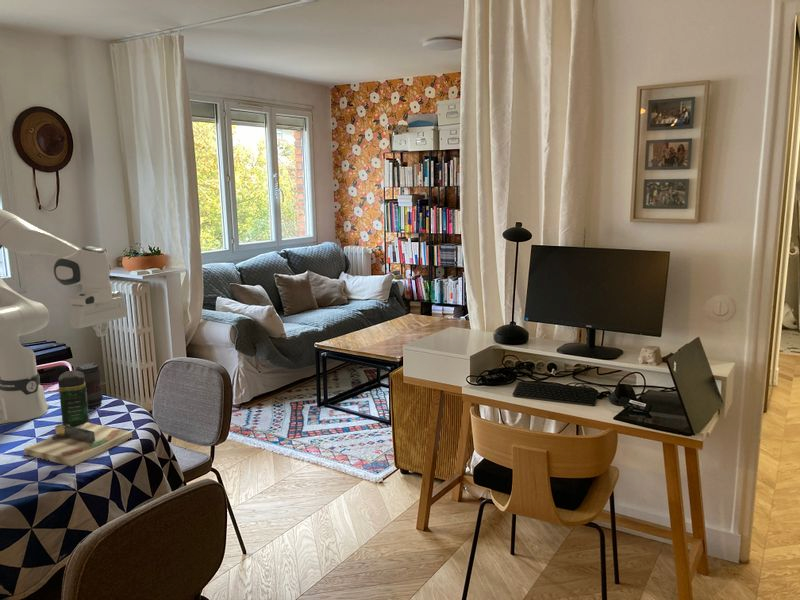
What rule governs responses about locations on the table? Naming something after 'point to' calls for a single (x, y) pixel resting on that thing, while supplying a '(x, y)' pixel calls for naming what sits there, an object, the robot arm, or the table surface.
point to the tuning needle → (74, 433)
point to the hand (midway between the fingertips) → (101, 335)
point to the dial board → (78, 445)
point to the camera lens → (92, 383)
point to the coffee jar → (73, 398)
